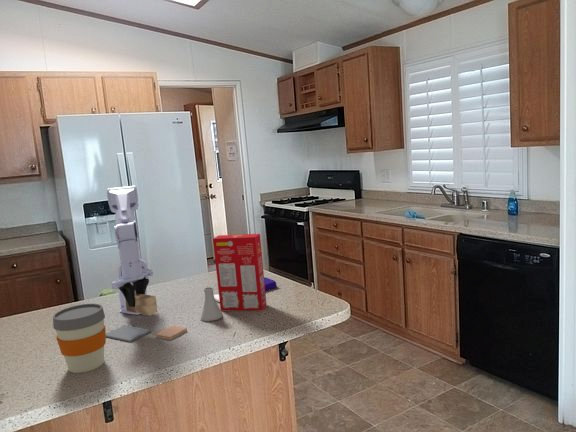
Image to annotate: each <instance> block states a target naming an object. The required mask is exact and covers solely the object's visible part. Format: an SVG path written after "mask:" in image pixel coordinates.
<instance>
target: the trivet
mask: <svg viewBox="0 0 576 432" xmlns="http://www.w3.org/2000/svg"><path fill="white" fill-rule="evenodd" d="M151 332H152V331H151V329H147V328H142V327H137V326H136V327H135V326H130V325H127V324H126V325H125V324H124V325H122V326H120V327H118V328H115V329H113V330H111V331H108V332H107V333H106V338H109V339H114V340H118V341H124V342H127V343H132V342H134V341H136V340H138V339H140V338H142V337H143V336H146V335H147V334H150V333H151Z"/></svg>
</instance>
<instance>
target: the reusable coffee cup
mask: <svg viewBox="0 0 576 432" xmlns="http://www.w3.org/2000/svg"><path fill="white" fill-rule="evenodd" d="M105 318H106V315H105V311H104V307H103V305H102V304H100V303H83V304H77V305H72V306H69V307H66V308H63V309H60V310H58V311H57V312H55V313H54V314H53V316H52V325H53V326H52V327H53V329H54V330H55V332H56V341H57V345H58V347H59V350H60V353H61V355H62V356H63V358H64V360H65V363H66V364H65V365H66V366H67V369H68V371H69V372H70V373H73V374H79V373H80V374H81V373H87V372H91V371H92V370H95V369H99V368H100V367H101V366H102V365H104V363H105V345H106V343H107V342H106V341H107V340H106V339H107V337H106V324H105Z"/></svg>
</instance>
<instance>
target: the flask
mask: <svg viewBox="0 0 576 432" xmlns="http://www.w3.org/2000/svg"><path fill="white" fill-rule="evenodd" d="M203 292H204V304H203V307H202V308H203V309H202V311H201V317H200V321H203V322H204V321H205V322H211V321H212V322H213V321H217V320H219V319H221V318H223V311H221V309H220V305H218V301H216V300H215V298H214V295H215V294H214V287H213V286H209V287H208V286H207V287H204V288H203Z"/></svg>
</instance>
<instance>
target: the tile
mask: <svg viewBox="0 0 576 432" xmlns="http://www.w3.org/2000/svg"><path fill="white" fill-rule="evenodd" d="M186 332H188V329H187V328H186V327H184V326H183V327H182V326H176V325H171V326H169V327H167V328H165V329H163V330H161V331H159V332H157V333H155V338H158V339H162V340H168V341H173V340H174V339H175V338H177V337H179V336H181V335H182V334H184V333H186Z"/></svg>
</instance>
